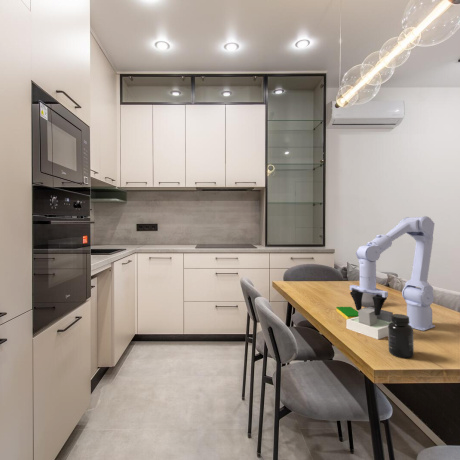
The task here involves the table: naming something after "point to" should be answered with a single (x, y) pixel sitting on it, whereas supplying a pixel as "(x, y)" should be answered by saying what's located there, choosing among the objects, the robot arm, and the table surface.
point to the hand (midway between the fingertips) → (367, 312)
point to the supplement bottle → (400, 336)
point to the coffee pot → (367, 300)
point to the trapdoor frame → (367, 329)
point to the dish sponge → (347, 312)
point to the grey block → (367, 316)
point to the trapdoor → (381, 318)
